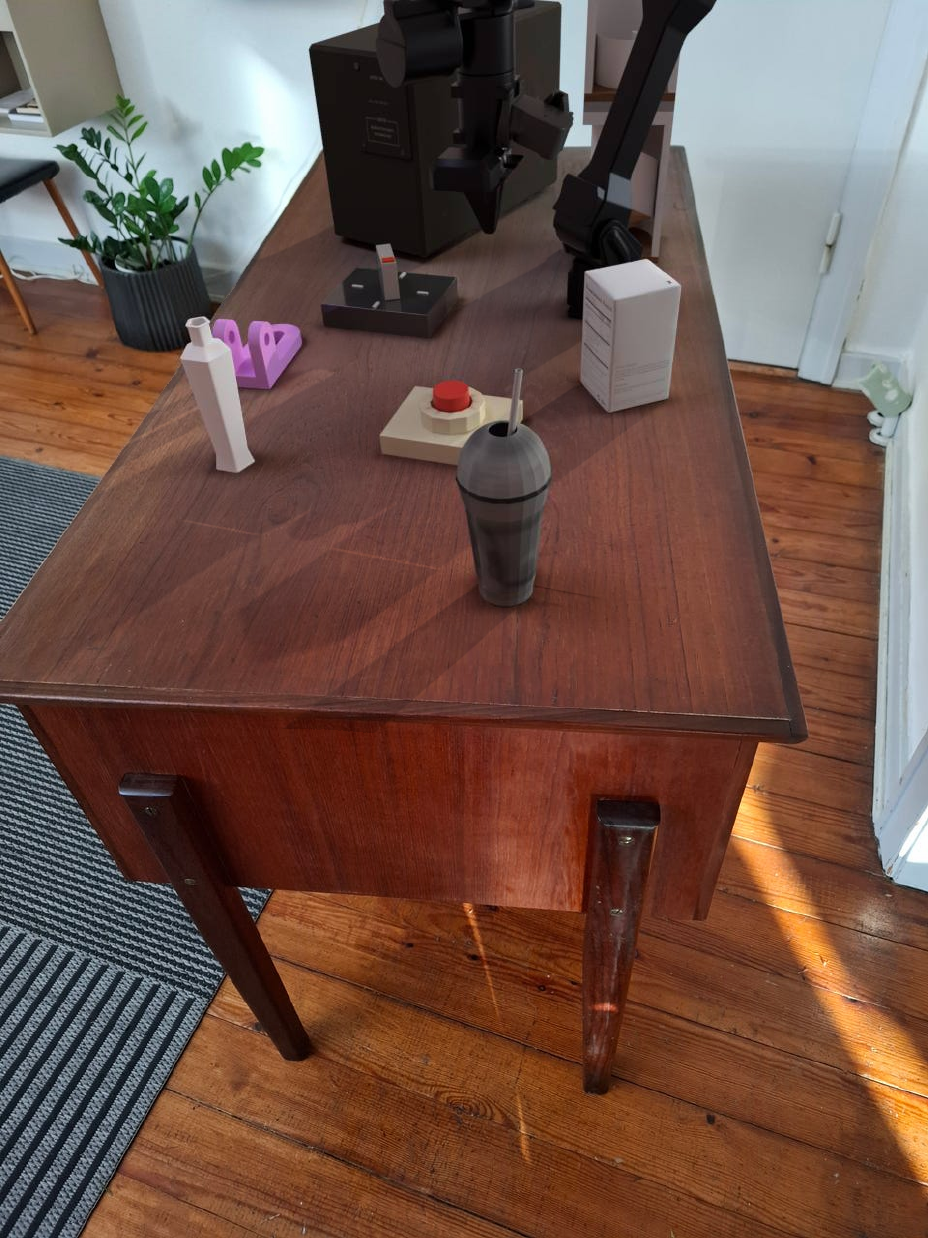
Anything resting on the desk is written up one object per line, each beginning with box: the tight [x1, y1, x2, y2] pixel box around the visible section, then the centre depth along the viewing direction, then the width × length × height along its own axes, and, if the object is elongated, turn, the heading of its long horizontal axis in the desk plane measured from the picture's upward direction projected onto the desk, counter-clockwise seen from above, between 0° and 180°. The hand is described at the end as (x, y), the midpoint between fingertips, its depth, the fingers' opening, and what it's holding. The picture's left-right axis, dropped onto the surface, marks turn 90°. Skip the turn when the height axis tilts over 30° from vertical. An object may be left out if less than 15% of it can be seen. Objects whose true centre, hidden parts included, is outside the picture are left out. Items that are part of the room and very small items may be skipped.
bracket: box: [211, 318, 303, 390], centre depth 103 cm, size 13×6×7 cm, turn 168°
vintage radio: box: [308, 0, 563, 258], centre depth 129 cm, size 38×20×25 cm, turn 144°
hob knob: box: [375, 244, 400, 300], centre depth 110 cm, size 6×2×5 cm, turn 11°
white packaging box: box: [579, 259, 682, 414], centre depth 93 cm, size 7×7×13 cm
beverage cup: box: [455, 368, 553, 607], centre depth 68 cm, size 7×7×20 cm
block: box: [379, 385, 524, 466], centre depth 91 cm, size 12×10×4 cm
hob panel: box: [320, 267, 459, 339], centre depth 112 cm, size 14×11×3 cm
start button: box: [432, 380, 469, 413], centre depth 89 cm, size 4×4×2 cm
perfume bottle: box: [179, 316, 256, 474], centre depth 85 cm, size 5×4×15 cm
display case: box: [582, 0, 681, 267], centre depth 111 cm, size 11×11×35 cm
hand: (489, 232), depth 97 cm, fingers closed
